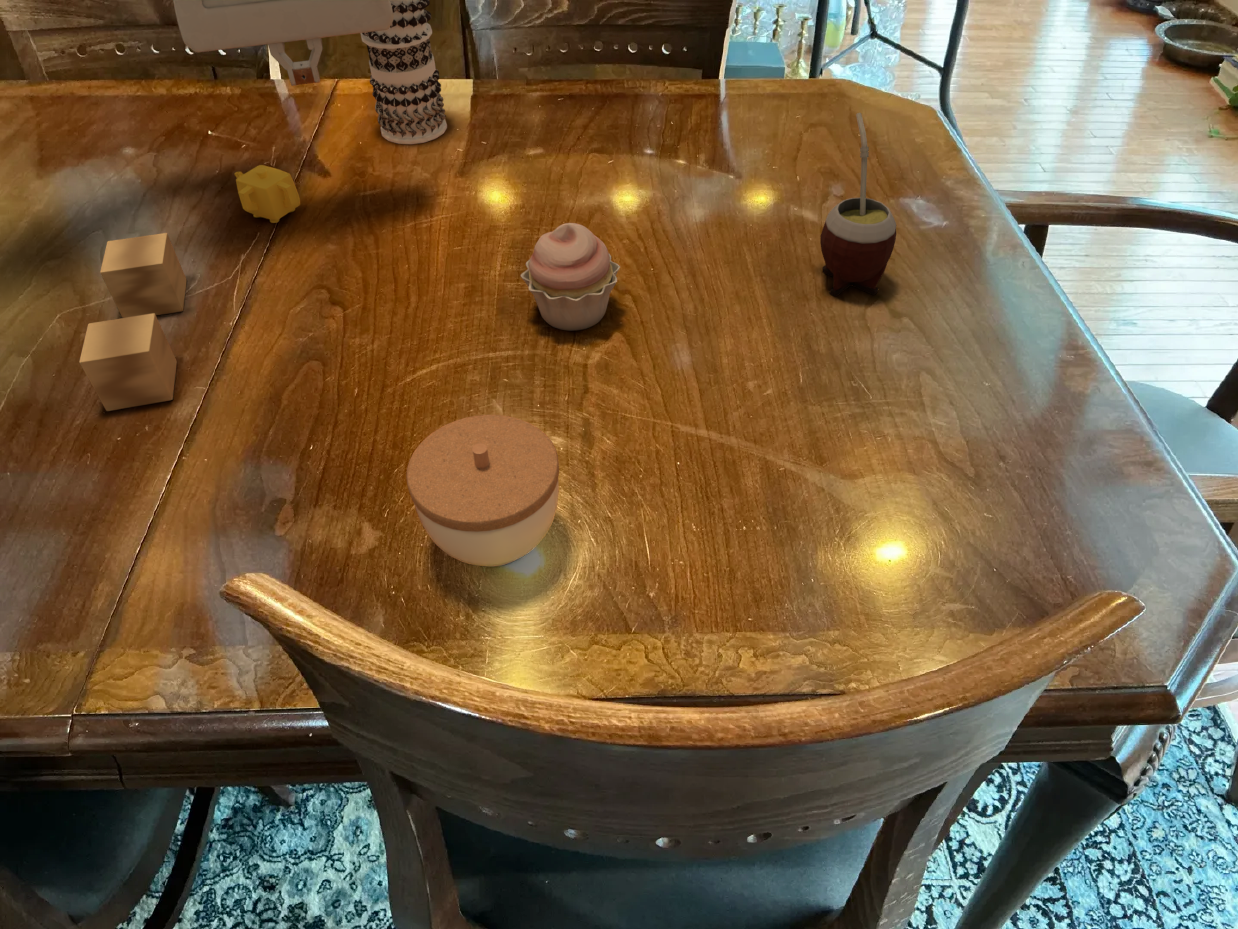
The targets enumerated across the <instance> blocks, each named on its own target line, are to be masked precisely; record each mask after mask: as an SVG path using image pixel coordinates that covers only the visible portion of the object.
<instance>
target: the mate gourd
mask: <svg viewBox="0 0 1238 929" xmlns="http://www.w3.org/2000/svg"><path fill="white" fill-rule="evenodd" d="M862 114H863V113H861V112H857V113H856V114H855V116H856V121H857V126H858V130H859V135H860V145H861V146H860V148H859V150H860V151H859V154H860V155H859V157H860V158H861V163H860V189H859V190H860V192H859V197H850V198H847V199H842V201H840V202H839V203H837V204H836V205H835V206H834V207H833V208H831V210H830V211H829V212H828V213H827V216H826V219H825V221H824V224H823V226H822V229H821V233H820V238H819V239H820V250H821V254H822V259H823V261H824V263H825V265H824V266H822V267H821V269H822V270H821V272H822V273H823V274H825V275H826V276H830V277H832V278H833V286H832V287H831V288H830V290H829V294H830V295H831V296H832V297H838V296H839V295H840V294H841V293H843V292H844V291H845V290H846V289H848V288H849V287H854V288H857V289H859V290H861V291H863V292H865V293H868V294H870V295H872V296H873V295H876V294H877V293H878V291H879V290H880V288H879V287H878V284H879V281H881V279H882V277H883V275H884V273H885V271H886V268H887V265H888V263H889V261H890V258H891V256H892V255H893V251H894V248H895V244H896V239H897V222H896V220H895V217H894V215H893V213H892V211H891V209H890V208H889V207H888V206H887V205H886V204H884V203H883V202H882V201H878V200H876V199H874V198H868V197H867V175H868V174H867V172H868V158H869V157H870V155H869V150H870V149H869V148H870V146H868V139H867V138H868V137H867V132H866V129H865V124H864V118H863V115H862Z"/></svg>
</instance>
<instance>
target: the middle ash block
mask: <svg viewBox="0 0 1238 929" xmlns="http://www.w3.org/2000/svg"><path fill="white" fill-rule="evenodd" d="M179 260H180V259H179V258H178V256H177V253H176V251H175V249H174V246H173V244H172V242H171V239H170V237H169V234H168V232H161V233H156V234H155V233H154V234H149V235H142V236H134V237H127V238H120V239H114V240H108V241H106V246H105V250H104V254H103V258H102V263H101V267H100V271H99V273H100V275H101V277H102V279H103V281H104V283H105V286H106V288H107V289H108V291H109V294H110V295H111V298H112V299H113V301H114V303H115V305H116V307H117V310H118V312H119V314H120V316H121V318H127V317H133V316H140V315H146V314H152V313H155V315H156V316H161V315H167V314H174V313H180V312H183V311H184V307H185V298H186V291H187V290H186V289H187V281H188V280H187V277H186V275H185V273H184V270H183V268H182V265H181V262H180V261H179Z"/></svg>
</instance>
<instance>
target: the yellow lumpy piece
mask: <svg viewBox="0 0 1238 929" xmlns="http://www.w3.org/2000/svg"><path fill="white" fill-rule="evenodd" d="M233 174H234V176H235V177H236V179H235V182H236V183H235V184H236V189H237V194H238V197H239V200H240V203H241V207H242V209H243V210H244V211H245V212H247V213H249V214H251V215H253V218H263V219H266V220H269V222H270V223H271V224H276V223H279V222H280V219H281V218H283V217H285V216H286V215H288V214H289V213H293V212H295V211H296V208H299V206H301V198H300V195H299V192H298V189H297V186H296V184H295V182H294V180H293V177H292V175H291V173H289V172H288V171H287V172H286V171H284V170H281V169H279V168H275V167H271V166H268V165H264V164H259V165H257V166H255V167H253V168H251V169H249V170H248V171H247V172H245V173H243V172H242V171H236V172H234V173H233Z"/></svg>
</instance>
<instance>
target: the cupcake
mask: <svg viewBox="0 0 1238 929" xmlns="http://www.w3.org/2000/svg"><path fill="white" fill-rule="evenodd" d="M525 266H526V268H527V269H526V270H525V271H523V272H522V273H521V274H520V278H521V279H522V280H523V281H524V283H525V284H526V286H527V287H528V291H529V292H530V293H531V295H532V296H533V298H534V300H535V302H536V305H537V308H538V310H539V313H540V315H541V318H542V319H543V320H544V321H545V322H546V324H548V325H549V326H551V327H553V328H555V329H558V330H561V331H567V332H569V331H571V332H572V331H582V330H586V329H589V328H591V327H594V326H595V325H597V324H598V323H600V321H601V320H602V319H603V318H604V316H605V314H606V311H607V310H608V309H607V308H608V304H609V300H610V294H611V292H612V291H613V289H614V288H615V286H616V284H617V282H618V277H617V274H618V272H619V271H620V268H621V266H620V265H619V264H618V263H616V262H614V261H613V260H612V255H611V254H610V252H609V250H608V248H607V246H606V244H605V243H604V241H603V240H601V239H600V238H599V237H597V236H596V235H595V234H594V233H593V232H592V231H591V230H590V229H589V228H587V227H586V226H584V225H582V224H579V223H575V222H565V223H563V224H560V225H558V226H557V227H555V229H554V230H553V231H549V232H546V233H543V234H542V235H541V236H540V237H539V239H538V240H537V242H536V243H535V245H534V248H533V252H532V254H531V256H530V258H529V259H528V260H527V261H526V262H525Z"/></svg>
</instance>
